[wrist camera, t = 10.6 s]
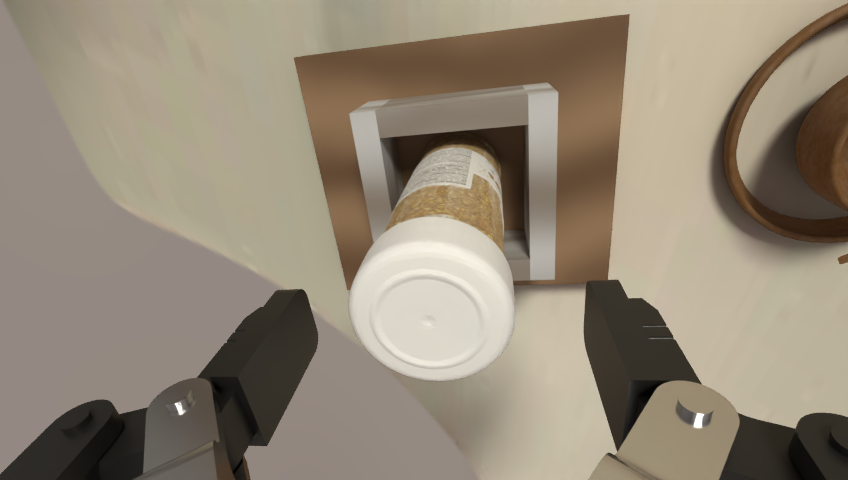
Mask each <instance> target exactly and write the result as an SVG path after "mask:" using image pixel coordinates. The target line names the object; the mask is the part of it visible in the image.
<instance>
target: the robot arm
mask: <svg viewBox="0 0 848 480" xmlns="http://www.w3.org/2000/svg"><path fill="white" fill-rule="evenodd" d="M584 341H585V347H586V351H587V355H588V358H589V361H590V364H591V368H592V371H593V374H594V378H595V381H596V384H597V387H598V391H599V394H600V397H601V400H602V404H603V407H604V410H605V413H606V417H607V420H608V423H609V427H610V430H611V433H612V436H613V440H614V443H615V446H616V449H617V453H616V454H615V455H613V454H611V453H607V454H606V455H605V456H604V457H603V458H602V459H601V461H600V462H599V463H598V465H597V467H596V468H595V470H594V471H593V473H592V474H591V476H590V478H589V479H588V480H848V417H845V416H842V415H837V414H831V413H813V414H809V415H806V416H804V417H802V418H801V419H800V420H799V422H798V424H797V426H796V429H794V428H790V427H786V426H782V425H778V424H773V423H769V422H765V421H761V420H757V419H754V418H750V417H747V416H744V415H742V414H739V413H737V411H736V409H735V408H734V406H733V405H732V404H731V403H730V402H729V401H728V400H727V399H726V398H725V397H724V396H722V395H721V394H720V393H718V392H716V391H715V390H713V389H711V388H709V387H707V386H704V385H702V384H701V382H700V381H699V379H698V377H697V376H696V374H695V372H694V370H693V369H692V367H691V365H690V364H689V362H688V360H687V359H686V357H685V355H684V354H683V352H682V350H681V349H680V347H679V345H678V344H677V342H676V340H674V339H673V335H672V334H671V332H670V330H669V328H667V327H666V323H665V322H664V320H663V318H662V317H661V315H660V313H659V312H658V310H657V309H655V308H654V307H653V306H651V305H650V304H649V303H647V302H646V301H645V300H643V299H642V298H630V299H628V297H627V295H626V293H625V291H624V289H623V287H622V285H621V283H620V282H619V281H618V280H594V281H588V282H587V285H586V297H585V314H584ZM317 344H318V332H317V328H316V324H315V321H314V317H313V314H312V311H311V307H310V304H309V300H308V297H307V294H306V292H305V291H304V290H302V289H294V290H277V291H276V292H275V293H274V294H273V295H272V296H271V298H270V299H269V300H268V302H267V303H266V304H265V305H264V307H260V308H258V309H257V310H256V311H254V312H253V313H251V314H250V315H249V316H247V317H246V318H245V319H244V320H243V321H242V323H241V324H240V325H239V326H238V328H237V329H236V330H235V333H233V334H232V335H231V336H230V337H229V339H228V340H227V343H225V344H224V345H223V346H222V347H221V349H220V350H219V351H218V352H217V354H216V355H215V356H214V357H213V358H212V360H211V361H210V362H209V363H208V365H207V366H206V367H205V368H204V370H203V371H202V372H201V373H200V375H199V376H198V377H197V378H191V379H187V380H183V381H180V382H178V383H176V384H174V385H172V386H170V387H168V388H167V389H165V390H164V391H162V392H161V393H160V394H159V395H158V396H157V397H156V398H155V399H154V400H153V401H152V402H151V404H150V405H149V407H148V408H143V409H139V410H135V411H132V412H127V413H123V414H118V412H117V410H116V409H115V407H114V406H113V404H112V403H111V402H110V401H108V400H95V401H91V402H87V403H84V404H82V405H79V406H77V407H75V408H73V409H71V410H70V411H68V412H66V413H65V414H63V415H62V416H61V417H59V418H58V419H56V420H55V421H54V422H53V423H52V424H51V425H50V426H49V427H48V428H47V429H46V430H45V431H44V432H43V433H42V434H41V435H40V436H39V437H38V438H37V439H36V440H35V441H34V442H33V443H31V445H30V446H29V447H27V448H26V449H25V450H24V451H23V452H22V453H21V454H20V455H19V456H18V457H17V458H16V459H15V460H14V461H13V462H12V463H11V464H10V465H9V466H8V467H7V468H6V469H5V470H4V471H3V472H2V473H1V474H0V480H250V475H249V470H248V466H247V461H246V459H245V457H244V453H245V451H246V450H247V448H248V446H249V445H250V446H267V445H268V443H269V441H270V439H271V437H272V435H273V434H274V431H275V430H276V428H277V426H278V424H279V422H280V420H281V418H282V416H283V414H284V412H285V410H286V408H287V406H288V404H289V402H290V400H291V398H292V396H293V395H294V392H295V391H296V389H297V387H298V385H299V383H300V381H301V379H302V377H303V375H304V373H305V371H306V369H307V367H308V365H309V363H310V361H311V359H312V358H313V356H314V353H315V352H316V349H317Z"/></svg>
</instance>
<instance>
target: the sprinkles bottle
mask: <svg viewBox="0 0 848 480" xmlns="http://www.w3.org/2000/svg"><path fill="white" fill-rule="evenodd" d="M500 179H501V166H500V162H499V159H498V156H497V154H496V152H495V151H494V149H493V147H492V146H491V145H490V144H488V143H487V142H486V141H485V140H484V139H482V138H480V137H478V136H476V135H474V134H471V133H466V132H461V131H457V132H452V133H446V134H444V135H441V136H439V137H437V138H436V139H435V140H433V141H432V142H430V143H429V145H428V146H427V147H426V149H425V150H424V151H423V153H422V155H421V157H420V160H419V163H418V166H417V167H416V169H415V170H414V172H413V174H412V176H411V178H410V180H409V181H408V183H407V185H406V187H405V189H404V191H403V193H402V195H401V197H400V198H399V200H398V202H397V204H396V206H395V208H394V210H393V212H392V214H391V217H390V220H389V224H388V226H387V228H386V230H385V232H384V233H383V234H382V235H381V236H380V237H379V238H378V239H377V240H376V241H375V242H374V244H373V245H372V246H371V248H370V249H369V251H368V252H367V254H366V256H365V258H364V260H363V262H362V264H361V266H360V268H359V270H358V272H357V274H356V276H355V278H354V281H353V283H352V286H351V290H350V296H349V315H350V319H351V323H352V326H353V329H354V331H355V333H356V335H357V337H358V339H359V340H360V342H361V343H362V345H363V346H364V347H365V348H366V350H367V351H368V352H369V353H370V354H371V355H372V356H373V357H374V358H376V359H377V360H378V361H379V362H381V363H382V364H383V365H385V366H387V367H388V368H390V369H392V370H394V371H396V372H398V373H401V374H403V375H406V376H408V377H412V378H416V379H421V380H428V381H447V380H455V379H460V378H464V377H467V376H470V375H473V374H475V373H477V372H479V371H481V370H483V369H485V368H486V367H487V366H489V365H490V364H492V363H493V362H494V361H495V360H496V359H497V358H498V357H499V356H500V355H501V353H502V352H503V351H504V349H505V348H506V346H507V345H508V343H509V340H510V338H511V336H512V333H513V330H514V325H515V297H514V287H513V279H512V273H511V270H510V267H509V264H508V262H507V260H506V258H505V256H504V240H503V239H504V219H503V205H502V190H501V183H500Z"/></svg>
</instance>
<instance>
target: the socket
mask: <svg viewBox="0 0 848 480" xmlns="http://www.w3.org/2000/svg"><path fill="white" fill-rule="evenodd" d="M629 15H630V14H629ZM629 15H618V16H611V17H603V18H595V19H587V20H580V21H572V22H564V23H556V24H549V25H541V26H533V27H525V28H518V29H510V30H502V31H494V32H487V33H479V34H471V35H463V36H456V37H448V38H440V39H432V40H425V41H417V42H409V43H401V44H394V45H386V46H378V47H370V48H363V49H355V50H347V51H339V52H332V53H324V54H316V55H308V56H302V57H295V58H294V60H295V65H296V69H297V73H298V78H299V82H300V86H301V91H302V95H303V99H304V104H305V108H306V112H307V117H308V121H309V125H310V130H311V134H312V138H313V143H314V147H315V151H316V155H317V160H318V164H319V168H320V173H321V177H322V181H323V186H324V190H325V194H326V199H327V203H328V207H329V212H330V216H331V220H332V225H333V229H334V233H335V238H336V242H337V246H338V250H339V255H340V259H341V263H342V268H343V272H344V276H345V281H346V285H347V289H348V290H351V286H352V283H353V281H354V278H355V276H356V274H357V272H358V270H359V268H360V266H361V264H362V262H363V260H364V258H365V256H366V254H367V252H368V251H369V249H370V248H371V246H372V245H373V244H374V242H375V241H376V240H377V239H378V238H379V237H380V236H381V235H382V234H383V233H384V232H385V230H386V228H387V226H388V224H389V220H390V217H391V214H392V212H393V210H394V208H395V206H396V204H397V202H398V200H399V198H400V197H401V195H402V193H403V191H404V189H405V187H406V185H407V183H408V181H409V180H410V178H411V176H412V174H413V172H414V170H415V169H416V167H417V166H418V163H419V160H420V157H421V155H422V153H423V151H424V150H425V149H426V147H427V146H428V145H429V143H430V142H432V141H433V140H435V139H436V138H437V137H439V136H441V135H444V134H446V133H452V132H457V131H461V132H466V133H471V134H474V135H476V136H478V137H480V138H482V139H484V140H485V141H486V142H487V143H488V144H490V145H491V146H492V147H493V149H494V151H495V152H496V154H497V156H498V159H499V162H500V166H501V179H500V183H501V190H502V205H503V219H504V239H503V240H504V256H505V258H506V260H507V262H508V264H509V267H510V270H511V273H512V279H513V285H539V284H575V283H587V282H588V281H594V280H608V270H609V258H610V246H611V234H612V222H613V209H614V197H615V185H616V173H617V161H618V149H619V136H620V124H621V112H622V100H623V88H624V76H625V63H626V51H627V39H628V27H629Z"/></svg>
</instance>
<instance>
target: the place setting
mask: <svg viewBox="0 0 848 480" xmlns="http://www.w3.org/2000/svg"><path fill="white" fill-rule="evenodd" d="M846 19H848V3H847V4H845V5H843V6H841V7H839V8H837V9H835V10H833V11H831V12H829V13H827V14H825V15H824V16H822V17H821V18H819V19H817V20H816V21H814V22H813V23H811V24H809V25H808V26H806V27H805V28H803V29H802V30H801V31H800V32H798V33H797V34H796V35H794V36H793V37H792V38H790V39H789V40H788V41H787V42H786V43H785V44H783V45H782V46H781V47H780V48H779V49H778V50H777V51H776V52H775V53H774V54H773V55H772V56H771V57H770V58H769V59H768V60H767V61H766V62H765V63H764V64H763V66H762V67H761V68H760V69H759V70H758V71H757V73H756V74H755V75H754V77H753V78H752V80H751V81H750V82H749V84H748V85H747V87H746V88H745V90H744V92H743V93H742V95H741V97H740V99H739V100H738V102H737V104H736V107H735V109H734V111H733V113H732V116H731V118H730V122H729V125H728V128H727V132H726V137H725V144H724V167H725V174H726V178H727V181H728V184H729V187H730V189H731V191H732V193H733V195H734V197H735V198H736V200H737V202H738V203H739V204H740V205H741V207H742V208H743V209H744V210H745V212H747V213H748V214H749V215H750V216H751V217H752V218H753V219H754V220H756V221H757V222H758V223H760V224H761V225H763V226H764V227H766V228H767V229H769V230H771V231H773V232H775V233H778V234H780V235H782V236H785V237H789V238H792V239H796V240H802V241H808V242H821V243H833V242H847V241H848V216H846V217H840V218H835V219H823V220H810V219H800V218H793V217H789V216H786V215H782V214H779V213H777V212H775V211H773V210H770V209H769V208H767V207H766V206H764V205H762V204H761V203H760V202H759V201H757V200H756V199H755V198H754V197H753V196H752V195H751V194H750V192H749V191H748V190H747V188H746V187H745V185H744V183H743V181H742V179H741V177H740V174H739V171H738V167H737V160H736V149H737V143H738V138H739V134H740V131H741V127H742V124H743V121H744V119H745V117H746V114H747V112H748V110H749V108H750V106H751V104H752V102H753V101H754V99H755V97H756V96H757V94H758V92H759V91H760V89H761V88H762V86H763V85H764V84H765V82H766V81H767V80H768V78H769V77H770V76H771V74H772V73H773V72H774V71H775V70H776V69H777V68H778V67H779V65H780V64H781V63H782V62H783V61H784V60H785V59H786V58H787V57H788V56H789V55H790V54H791V53H792V52H794V51H795V50H796V49H797V48H798V47H799V46H800V45H801V44H803V43H804V42H805V41H807V40H808V39H810V38H811V37H813V36H814V35H816V34H818V33H819V32H821V31H823V30H824V29H826V28H828V27H830V26H833V25H835V24H837V23H839V22H841V21H843V20H846ZM795 156H796V163H797V167H798V170H799V172H800V174H801V176H802V178H803V179H804V180H805V182H806V183H807V184H808V185H809V186H810V187H811V188H812V189H813V190H814V191H815V192H816V193H817V194H819V195H820V196H822V197H823V198H825V199H827V200H828V201H830V202H832V203H833V204H835V205H837V206H839V207H841V208H843V209H845V210H847V211H848V76H846V77H845V78H843V79H842V80H840V81H839V82H837V83H836V84H835V85H834V86H832V87H831V88H830V89H829V90H828V91H827V92H826V93H825V94H824V95H823V96H822V97H821V98H820V99H819V100H818V101H817V102H816V103H815V104H814V106H813V107H812V108H811V110H810V111H809V113H808V114H807V116H806V117H805V119H804V121H803V123H802V125H801V128H800V130H799V133H798V136H797V140H796V147H795ZM838 261H839V263H840V264H843V263H846V262H848V254H846V255H843V256H841V257H839V258H838Z"/></svg>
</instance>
